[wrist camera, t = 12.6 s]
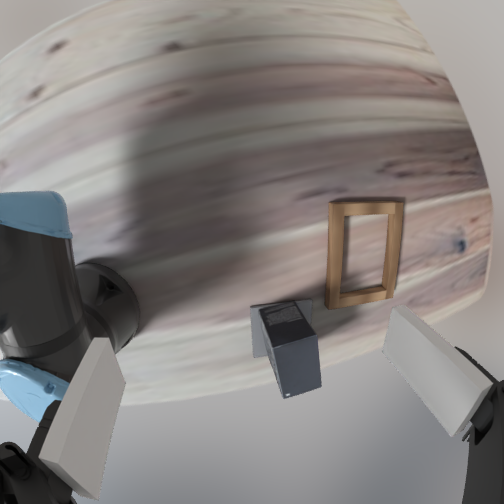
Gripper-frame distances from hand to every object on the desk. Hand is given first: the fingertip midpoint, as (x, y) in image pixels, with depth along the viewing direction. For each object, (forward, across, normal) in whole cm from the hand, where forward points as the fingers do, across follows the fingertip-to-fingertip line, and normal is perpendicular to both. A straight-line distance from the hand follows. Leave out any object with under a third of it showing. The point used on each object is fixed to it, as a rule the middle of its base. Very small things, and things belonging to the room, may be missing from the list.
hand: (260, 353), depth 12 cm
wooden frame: (+29, +22, -6) cm, 37 cm away
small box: (+28, +8, -19) cm, 35 cm away
